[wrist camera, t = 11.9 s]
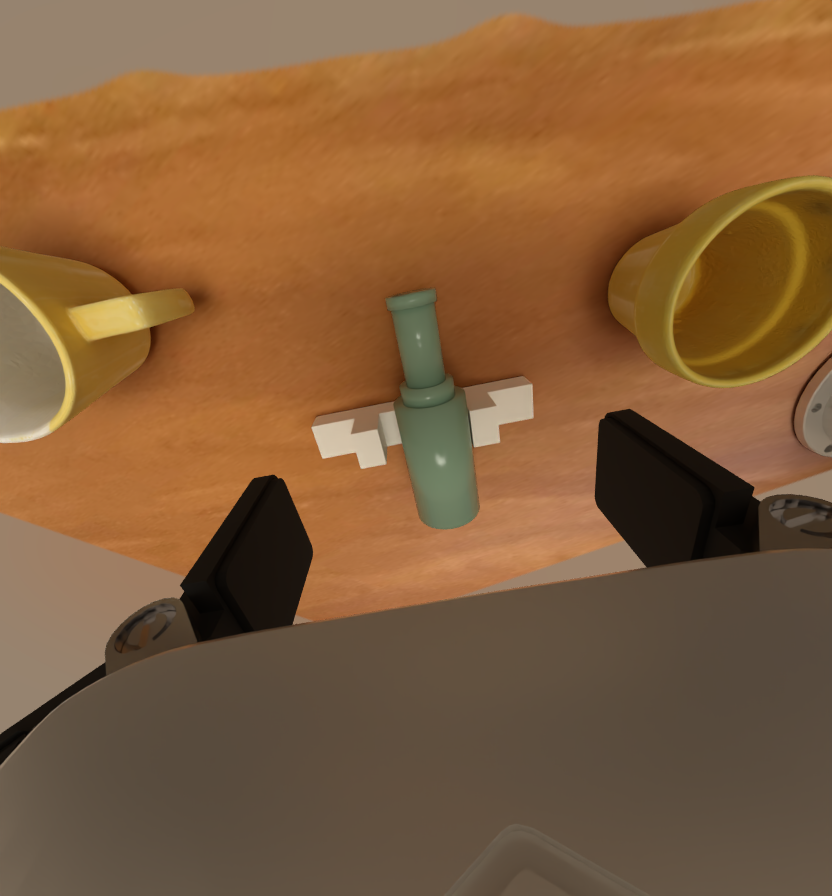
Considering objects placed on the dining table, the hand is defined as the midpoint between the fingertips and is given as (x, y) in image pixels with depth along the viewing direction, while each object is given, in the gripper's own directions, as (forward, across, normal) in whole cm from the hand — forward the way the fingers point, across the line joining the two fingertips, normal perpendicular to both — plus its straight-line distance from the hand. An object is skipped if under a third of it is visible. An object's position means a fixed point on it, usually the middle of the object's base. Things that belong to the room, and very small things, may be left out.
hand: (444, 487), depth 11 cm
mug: (+20, +21, -6) cm, 29 cm away
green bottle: (+15, 0, +13) cm, 20 cm away
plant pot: (+21, -18, -1) cm, 28 cm away
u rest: (+20, +1, +6) cm, 21 cm away
